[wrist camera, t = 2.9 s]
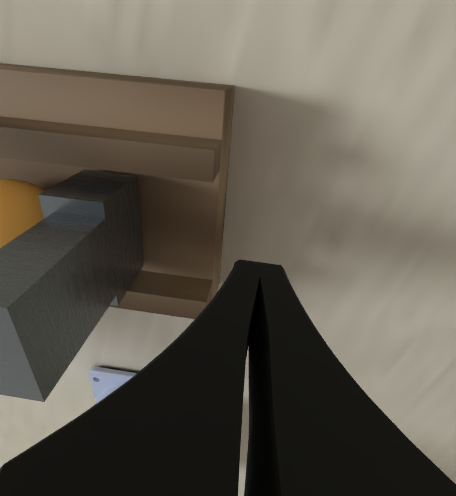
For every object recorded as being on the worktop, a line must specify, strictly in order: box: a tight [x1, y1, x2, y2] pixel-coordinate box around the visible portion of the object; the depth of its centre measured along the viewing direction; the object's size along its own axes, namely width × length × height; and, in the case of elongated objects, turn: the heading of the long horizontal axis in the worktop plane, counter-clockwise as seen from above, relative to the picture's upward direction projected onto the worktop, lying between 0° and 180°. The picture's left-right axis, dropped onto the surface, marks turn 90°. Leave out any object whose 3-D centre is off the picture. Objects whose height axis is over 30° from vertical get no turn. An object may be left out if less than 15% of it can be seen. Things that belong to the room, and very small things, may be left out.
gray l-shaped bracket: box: [0, 169, 144, 402], centre depth 9 cm, size 4×2×7 cm, turn 176°
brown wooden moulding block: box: [0, 63, 235, 319], centre depth 13 cm, size 10×18×4 cm, turn 86°
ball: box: [0, 179, 45, 248], centre depth 11 cm, size 4×4×4 cm
